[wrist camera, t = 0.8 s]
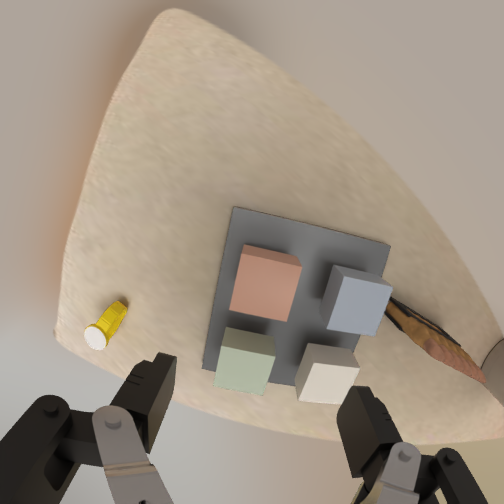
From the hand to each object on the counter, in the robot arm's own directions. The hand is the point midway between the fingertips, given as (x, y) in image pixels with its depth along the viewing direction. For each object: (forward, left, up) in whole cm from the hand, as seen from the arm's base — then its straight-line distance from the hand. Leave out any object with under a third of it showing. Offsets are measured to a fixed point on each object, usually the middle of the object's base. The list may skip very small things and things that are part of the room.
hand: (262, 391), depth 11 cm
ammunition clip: (-19, +2, -18) cm, 27 cm away
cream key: (-8, +7, -15) cm, 18 cm away
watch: (+15, +9, -18) cm, 25 cm away
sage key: (0, +7, -15) cm, 16 cm away
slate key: (-8, -1, -15) cm, 17 cm away
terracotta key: (0, -1, -15) cm, 15 cm away
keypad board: (-4, +3, -18) cm, 19 cm away
